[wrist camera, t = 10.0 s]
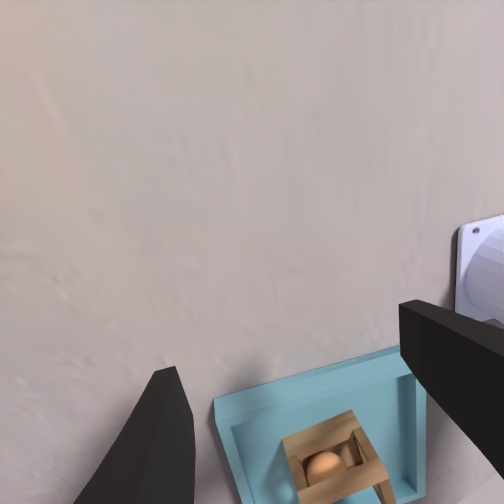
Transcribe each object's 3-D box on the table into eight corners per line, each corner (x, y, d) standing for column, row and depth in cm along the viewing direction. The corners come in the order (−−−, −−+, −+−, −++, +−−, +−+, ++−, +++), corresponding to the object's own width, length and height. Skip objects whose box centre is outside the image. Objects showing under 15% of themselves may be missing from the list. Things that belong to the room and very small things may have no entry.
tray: (409, 342, 25) (426, 359, 23) (411, 473, 30) (425, 496, 28) (213, 398, 23) (215, 421, 22) (254, 525, 29) (258, 552, 27)
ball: (344, 442, 25) (344, 480, 22) (352, 472, 25) (352, 512, 23) (305, 441, 26) (300, 478, 23) (314, 469, 26) (309, 509, 24)
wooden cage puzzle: (351, 409, 25) (387, 471, 21) (366, 456, 27) (402, 522, 23) (281, 438, 25) (301, 508, 20) (302, 483, 27) (325, 556, 23)
